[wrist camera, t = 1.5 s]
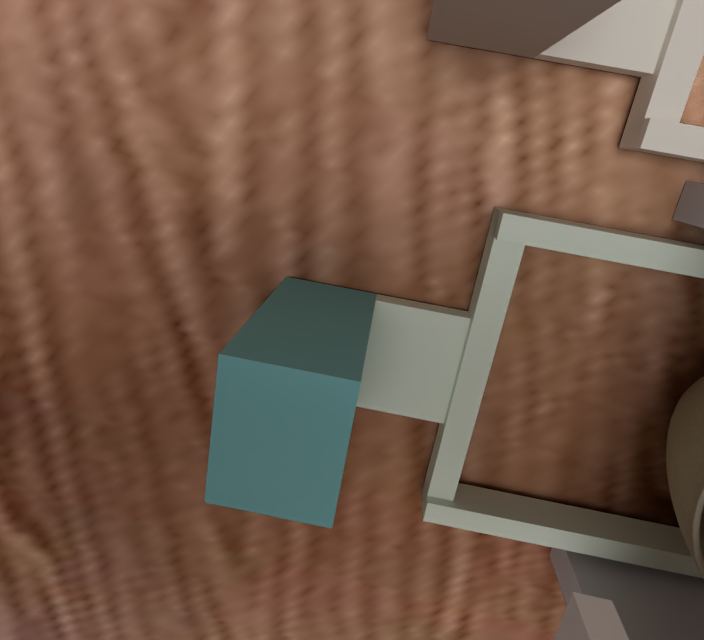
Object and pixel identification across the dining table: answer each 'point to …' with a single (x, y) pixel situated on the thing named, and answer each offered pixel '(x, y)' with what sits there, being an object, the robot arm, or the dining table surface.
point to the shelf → (634, 580)
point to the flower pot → (688, 468)
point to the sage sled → (409, 395)
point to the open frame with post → (600, 52)
